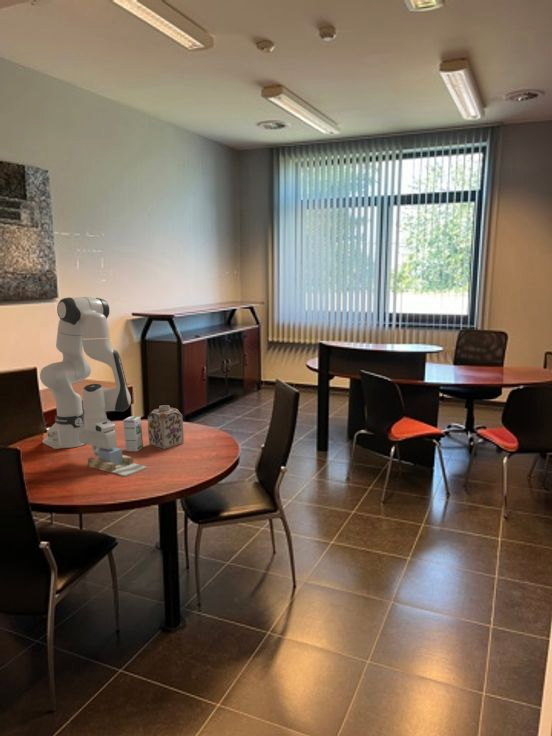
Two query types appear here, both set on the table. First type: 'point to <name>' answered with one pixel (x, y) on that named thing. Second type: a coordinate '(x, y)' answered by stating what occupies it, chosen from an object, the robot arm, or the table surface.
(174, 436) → the decorative jar
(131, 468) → the chute
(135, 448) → the syrup box
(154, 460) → the table surface
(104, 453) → the slate block
